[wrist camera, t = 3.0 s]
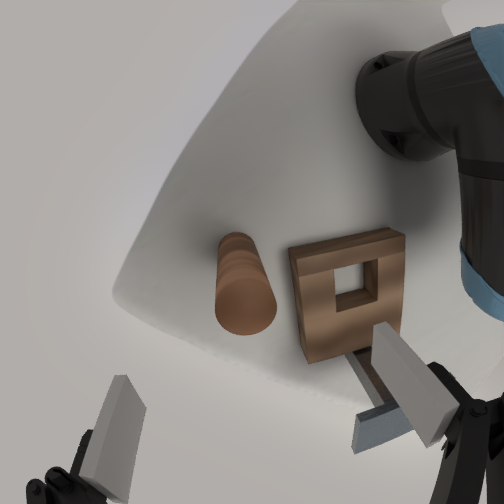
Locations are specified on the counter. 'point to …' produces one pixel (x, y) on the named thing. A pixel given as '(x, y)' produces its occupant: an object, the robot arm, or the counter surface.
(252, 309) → the peg
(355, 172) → the counter surface
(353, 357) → the grey t-shaped block
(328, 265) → the socket board
